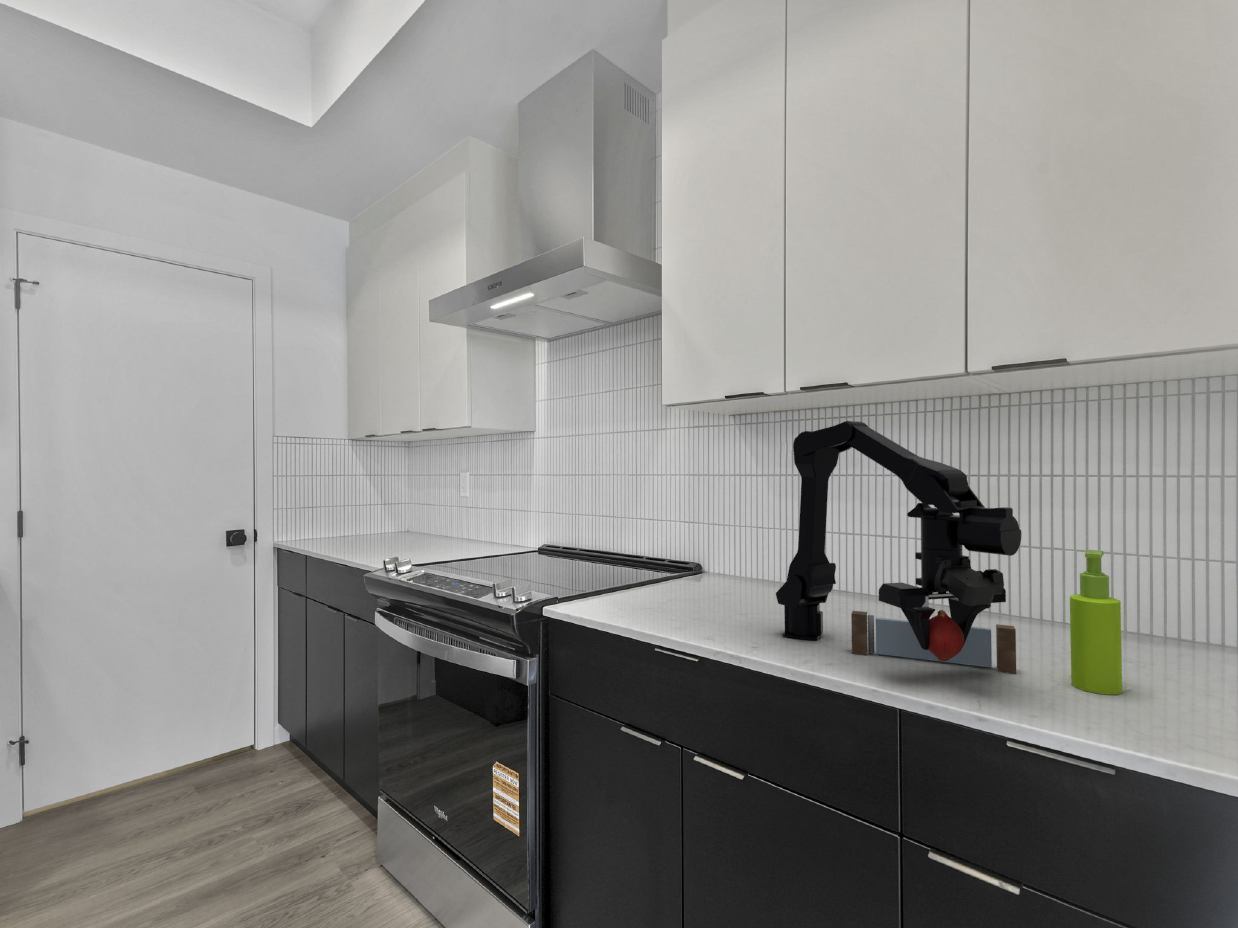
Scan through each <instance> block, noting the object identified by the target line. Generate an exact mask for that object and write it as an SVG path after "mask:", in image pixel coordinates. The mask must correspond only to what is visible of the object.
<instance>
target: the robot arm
mask: <svg viewBox="0 0 1238 928" xmlns="http://www.w3.org/2000/svg"><path fill="white" fill-rule="evenodd" d="M792 448H793V449H792V451H793V461H794V462H793V463H794V465H795V467H796V468H797V471H798V473H799V475H800V479H801V481H800V500H799V501H800V502H799V520H798V521H799V522H798V524H799V525H798V540H797V541H798V544H797V552H796V554H795V555H794V557H793V558H792V560H791V562H790V564H789V565H788V566H789V567H788V571H787V577H786V581H785V583H783V584H782V586H781V587H780V588H779V589H777V591H776V592H775V596H776V601H777V604H778V605H781V606H783V607H784V610H783V611H784V613H783V615H784V631H783V633H782V637H784V638H790V639H791V638H794V639H801V640H810V641H817V640H819V639H820V636H822V634H823V633H824V612H823V611H822V610H821V604H826V602H827V599H828V596H829V594H830V593H831V592H832V590H833V587H834V585H836V584H837V582H836V576H835V575H836V570H837V566H836V563H835V562H830V560H829V559H828V557H827V554H826V536H827V531H826V530H827V515H828V514H827V513H828V498H829V497H828V495H829V494H828V493H829V492H828V491H829V480H830V477H831V475H832V474H833V471H834V470H835V469H836V467H837V464H838V461H839V455H840V453H843V452H846V451H849V450H850V449H854V450H856V451H858V452H859V453H861V454H862V455H864V456H865V457H867V458H868V459H870V460H872V461H873V462H875V463H876V464H878V465H880V466H881V467H883V468H884V469H885V470H887V471H890V472H891V473H892V474H894V475H895V476H896V477H898V478H899V479H900V480H901V482H902V484H903V486H904V488H905V489H906V490H907V491H908V492H909V493H911V494H912V495H913V497H914V498H916V500H918V501H919V502H917V504H916V505H915V507H914V508H912V509H911V510H910V511H908V512H907V513H906V515H907V517H908V518H914V519H915V518H917V519H920V551H917V552H915V558H914V559H916V560H920V568H921V569H920V571H921V572H920V576H921V577H915V585H917V586H915V585H912V584H909V583H905V582H885V583H882V584H881V585H880V587H879V588H878V601H879V602H881V603H884V604H887V605H889V606H894V607H896V608H899V609H900V610H901V611H902V613H903V615H904V617H905V618H906V620H908V621H909V623H910V625H911V627H912V629H913V631H914V633H915V636H916V638H917V640H918V642H919V644H920V646H921V648H922V649H924V650H928V649H929V640H930V619H931V616H932V615H933V614H934V613H935V611H936V609H935V608H933V607H929V605H930V604H929V603H930V602H929V600H943V599H947V601H948V607H949V613H950V618H952V619H953V620H954V621H955V622H956V623H957V624H958V625H959V627H960V628H961V630H962V632H963V635H964V644H965V641H966V639H967V636H968V634H969V631H970V629H971V626H972V627H973V623H974V622H975V620H976V618H977V616H978V615H979V614H980V613H981V612H983V611H985V610H986V609H990V608H991V607H992V604H997V603H1000V604H1001V603H1007V591H1006V589H1005V582H1004V581H1005V579H1004V573H1003V572H1002V571H1000V570H998V569H996V568H993V569H991V568H989V569H984V570H983V571H982V570H975V569H973V568H972V565H971V559H970V557H969V555H964V554H963V547H964V548H965V550H967V551H969V552H972V553H973V552H975V553H984V554H993V555H1001V556H1008V557H1009V556H1014V555H1015V554H1017V553H1018V551H1019V549H1020V546H1021V543H1022V530H1021V529H1020V525H1019V522H1018V521H1017V519H1016V517H1015V516H1013V514H1014V512H1013V511H1014V509H1013V508H1012V507H1008V506H1007V507H1005V506H1004V507H985V506H984V504H983V503H982V502H981V500H980V499H979V497H978V496H977V495H976V493H975V492H974V491H973V490H972V487H970V486H969V482H968V476H967V475H966V474H965V472H963V471H962V470H961V469H960V468H959V469H958V468H956V467H954V466H952V465H947V464H945V463H942V462H939V461H935V460H931V459H928V458H924V457H921V456H919V455H917V454H915V453H914V452H911V450H909V449H907V448H905V447H904V446H902V445H900V444H898V443H896V442H895V441H893V440H891V439H889V438H888V437H886V436H885V435H883V434H881V433H880V432H878V431H876V430H874V428H873V429H872V428H871V427H869V425H868V424H867V423H865V422H863V421H858V420H857V421H856V420H855V421H853V420H846V421H843V422H840V423H837V424H835V425H832V426H829V427H825V428H821V429H816V430H814V431H812V430H804V431H801V432H800V433H798V435H797V436H796V437H794V440H793V443H792ZM932 506H934V507H932ZM957 514H959V515H957ZM919 586H920V587H919Z"/></svg>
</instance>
